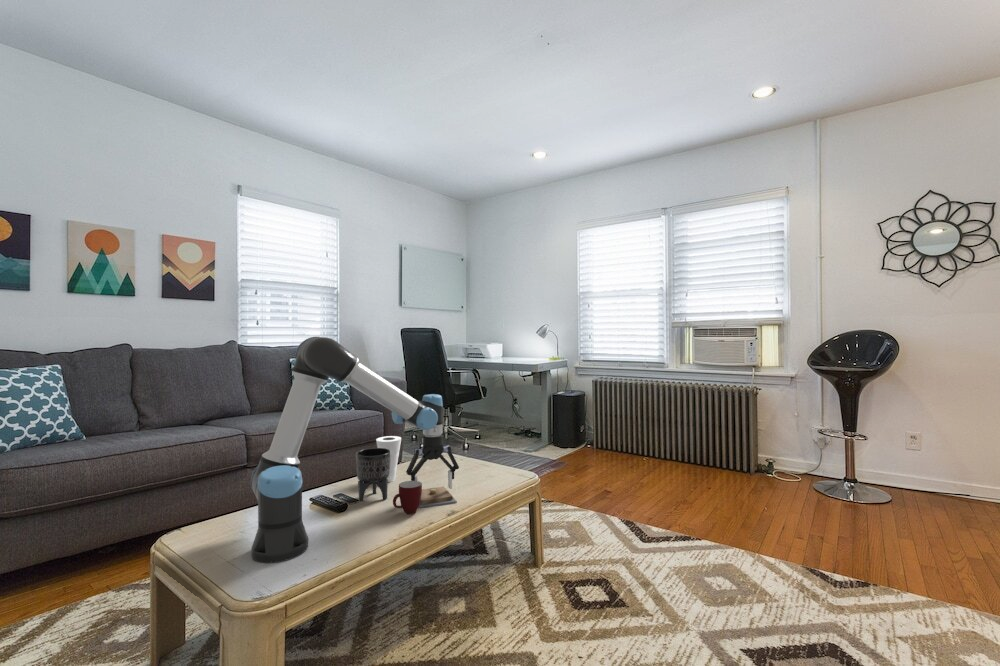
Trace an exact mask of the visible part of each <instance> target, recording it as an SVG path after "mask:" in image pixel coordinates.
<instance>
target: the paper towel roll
mask: <svg viewBox="0 0 1000 666" xmlns="http://www.w3.org/2000/svg"><path fill="white" fill-rule="evenodd" d="M375 441H376V448H385V449H389V450H390V451H391V452H390V474H389V477H388V478H387V479H388V483H392V482H395V480H396V475H397V468H398V462H399V456H400V450H401V442H402V437H401V436H397V435H389V436H388V435H386V436H381V437H377V438H376V439H375Z"/></svg>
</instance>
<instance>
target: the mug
mask: <svg viewBox="0 0 1000 666" xmlns="http://www.w3.org/2000/svg"><path fill="white" fill-rule="evenodd" d="M422 486H423V484H422V482H421V481H418V480H417V481H411V480H407V481H406V480H405V481H402V482H400V483H399V484H398V493H397V494H395V495H394V497H393V499H392V505H393V506H394V508H396V509H402V510H403V512H404V514H405V513H406V514H405V515H414V514H416V513H417V511H418V509H419V505H420V499H421V493H422V489H423V488H422ZM398 498H399V502H400V505H398V504H397V499H398Z"/></svg>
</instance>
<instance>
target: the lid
mask: <svg viewBox="0 0 1000 666" xmlns="http://www.w3.org/2000/svg"><path fill="white" fill-rule="evenodd" d="M453 498H454V496H453V495H452V494H451V493H450V492H449V490H447V488H446V487H445V486H437V487H432V488H431V487H430V488H424V489H423V488H422V493H421V499H420V504H421V505H422V504H429V503H435V502H442V501H449V500H453Z"/></svg>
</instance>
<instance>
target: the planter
mask: <svg viewBox="0 0 1000 666" xmlns="http://www.w3.org/2000/svg"><path fill="white" fill-rule="evenodd" d="M390 452H391V451H390V450H389V449H385V448H377V447H372V448H364V449H361V450H359V451H356V452H355V462H356V463H355V464H356V465H355V466H356V478H357V479H358V481H357V488H358V501H359V502H360V503H361V502H364V497H365V494H366V491H367V489H368V487H370V486H371V485H372V486H371V487H372V495H374V494H377V487H378V488H379V490H380V491H381V497H382V500H384V501H386V500H388V487H389V486H388V483H389V482H388V479H387V478H388V477H389V474H390Z"/></svg>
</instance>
